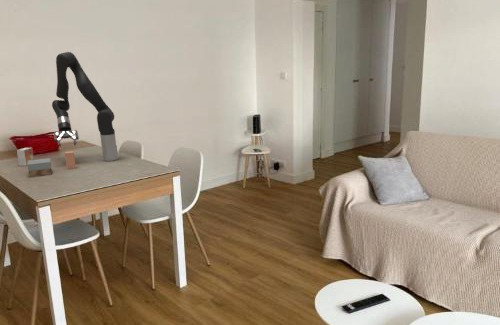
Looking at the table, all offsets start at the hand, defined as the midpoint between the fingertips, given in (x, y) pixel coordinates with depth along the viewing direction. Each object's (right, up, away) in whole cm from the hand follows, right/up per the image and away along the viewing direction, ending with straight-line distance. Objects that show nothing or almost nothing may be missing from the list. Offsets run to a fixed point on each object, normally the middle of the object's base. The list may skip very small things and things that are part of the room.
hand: (67, 145), depth 265 cm
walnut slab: (-10, -18, -14) cm, 25 cm away
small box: (-31, -12, +11) cm, 35 cm away
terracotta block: (+3, -14, -3) cm, 15 cm away
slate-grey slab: (-10, -14, -15) cm, 23 cm away
